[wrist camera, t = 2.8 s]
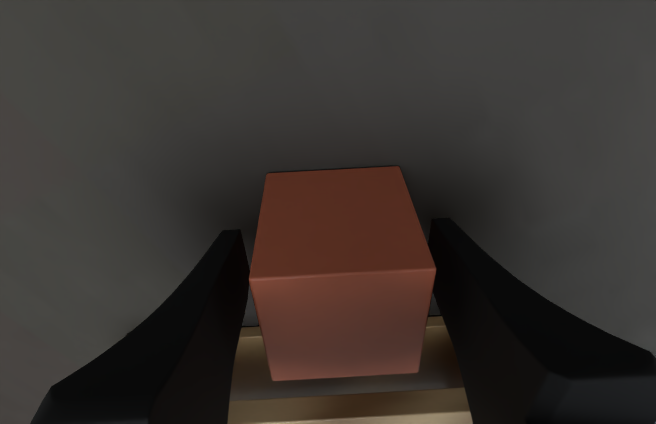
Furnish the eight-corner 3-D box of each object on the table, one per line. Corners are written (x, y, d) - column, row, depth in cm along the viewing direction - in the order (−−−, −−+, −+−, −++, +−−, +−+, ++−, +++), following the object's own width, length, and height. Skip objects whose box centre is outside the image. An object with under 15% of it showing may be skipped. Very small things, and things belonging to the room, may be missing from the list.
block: (399, 164, 14) (437, 269, 10) (392, 262, 16) (418, 373, 12) (265, 172, 13) (247, 279, 9) (281, 268, 16) (271, 382, 12)
